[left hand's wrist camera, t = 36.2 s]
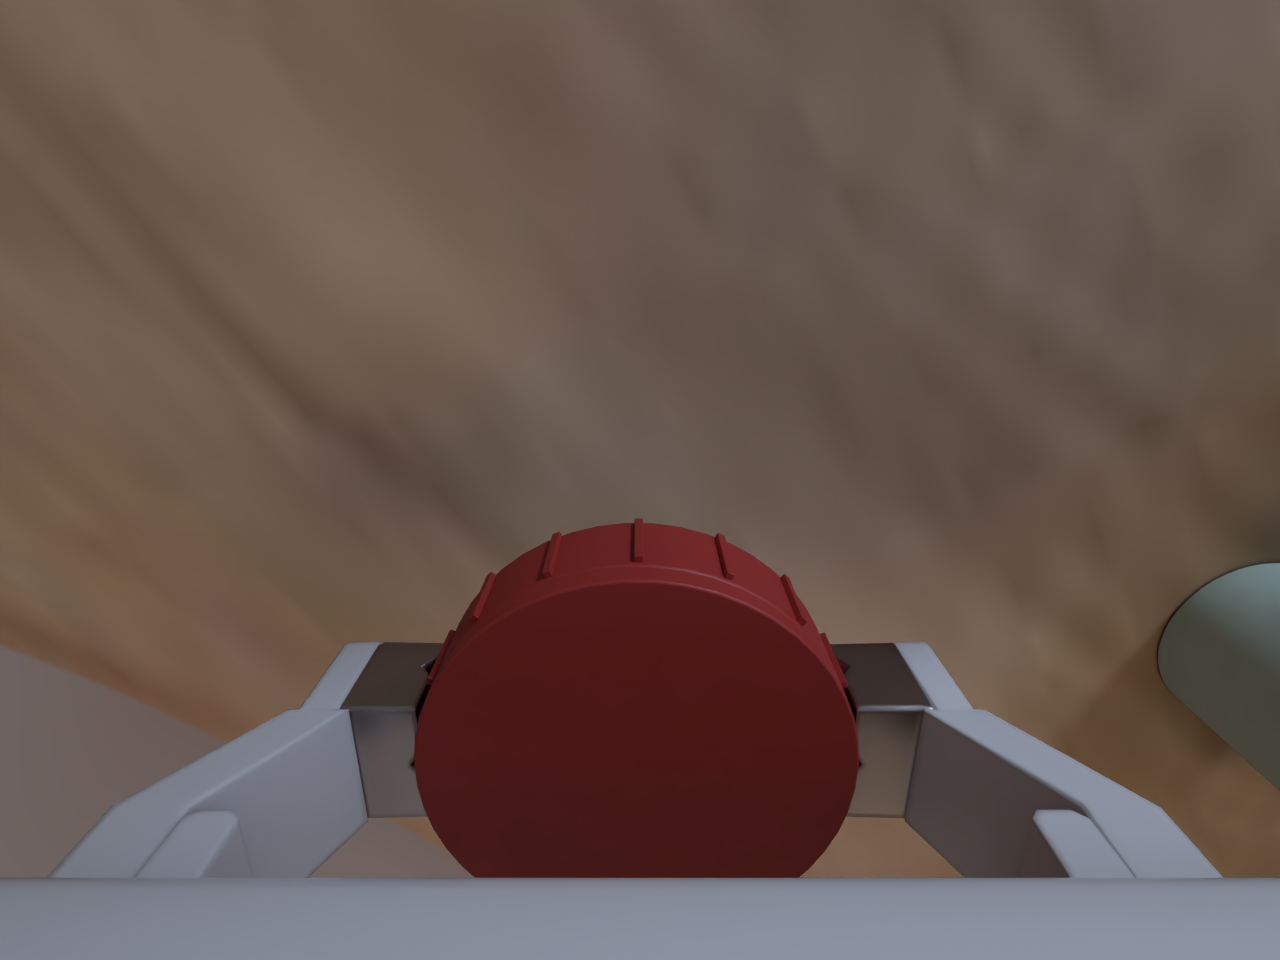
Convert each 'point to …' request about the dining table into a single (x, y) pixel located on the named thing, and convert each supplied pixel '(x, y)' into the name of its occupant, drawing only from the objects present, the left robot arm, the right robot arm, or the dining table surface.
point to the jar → (1231, 662)
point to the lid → (636, 716)
